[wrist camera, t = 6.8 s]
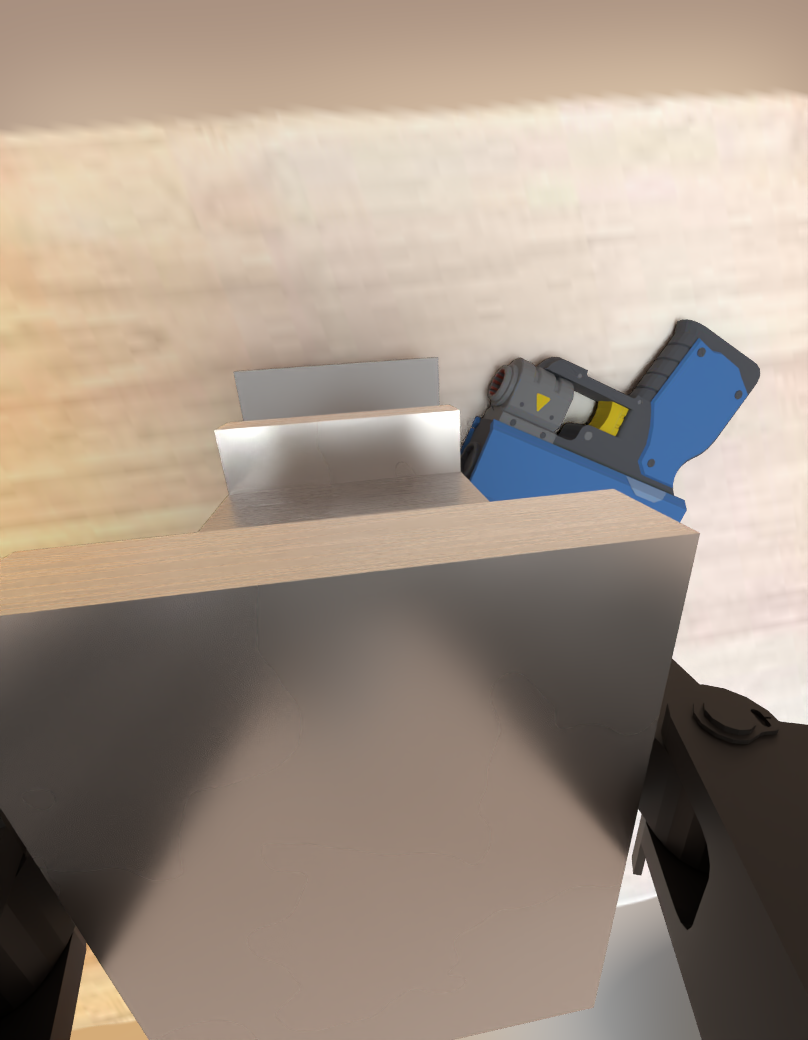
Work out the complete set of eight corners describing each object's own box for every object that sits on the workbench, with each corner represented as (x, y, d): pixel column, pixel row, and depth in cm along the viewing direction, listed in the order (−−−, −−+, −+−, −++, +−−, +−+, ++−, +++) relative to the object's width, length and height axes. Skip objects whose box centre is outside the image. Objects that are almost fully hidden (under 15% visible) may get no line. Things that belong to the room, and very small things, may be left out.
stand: (281, 529, 28) (271, 557, 24) (250, 368, 24) (233, 371, 20) (430, 513, 29) (443, 537, 25) (423, 356, 25) (437, 357, 21)
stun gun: (574, 233, 21) (458, 506, 24) (787, 358, 25) (663, 580, 28) (536, 258, 25) (440, 491, 28) (725, 363, 29) (622, 557, 32)
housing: (227, 422, 11) (-115, 628, 3) (448, 404, 12) (700, 532, 3) (279, 662, 14) (188, 1101, 6) (453, 639, 15) (593, 1008, 6)
